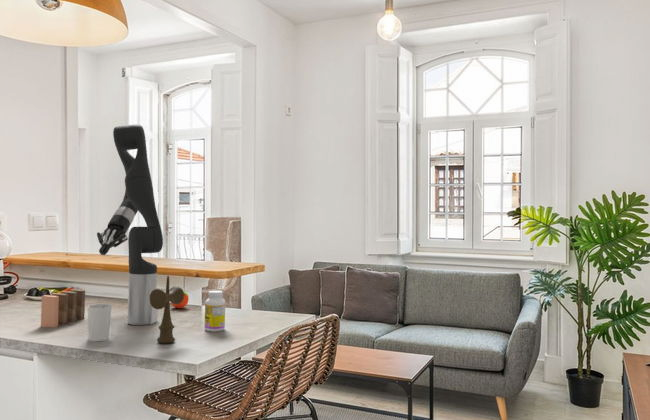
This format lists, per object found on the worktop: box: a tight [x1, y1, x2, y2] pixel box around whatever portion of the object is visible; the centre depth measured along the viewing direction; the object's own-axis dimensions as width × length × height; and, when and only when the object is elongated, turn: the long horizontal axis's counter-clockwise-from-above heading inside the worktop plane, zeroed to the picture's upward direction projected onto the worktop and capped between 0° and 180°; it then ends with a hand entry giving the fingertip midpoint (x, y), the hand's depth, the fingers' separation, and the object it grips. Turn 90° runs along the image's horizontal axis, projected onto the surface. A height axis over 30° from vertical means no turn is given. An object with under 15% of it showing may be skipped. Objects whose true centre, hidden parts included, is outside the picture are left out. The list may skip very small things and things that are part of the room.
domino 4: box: [68, 288, 86, 320], centre depth 192 cm, size 2×5×10 cm, turn 78°
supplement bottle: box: [204, 290, 226, 333], centre depth 182 cm, size 7×7×13 cm
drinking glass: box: [87, 303, 112, 342], centre depth 165 cm, size 7×7×10 cm
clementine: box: [170, 290, 190, 309], centre depth 217 cm, size 8×7×7 cm
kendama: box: [150, 275, 185, 345], centre depth 164 cm, size 6×10×20 cm, turn 157°
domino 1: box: [40, 294, 59, 328], centre depth 179 cm, size 2×5×10 cm, turn 78°
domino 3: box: [60, 290, 77, 323], centre depth 188 cm, size 2×5×10 cm, turn 78°
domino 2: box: [50, 292, 68, 326], centre depth 184 cm, size 2×5×10 cm, turn 78°
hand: (101, 253), depth 206 cm, fingers closed
